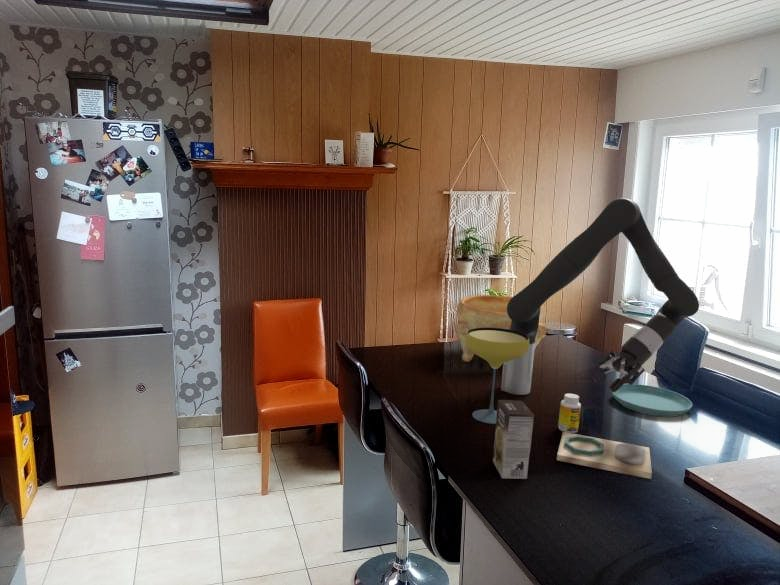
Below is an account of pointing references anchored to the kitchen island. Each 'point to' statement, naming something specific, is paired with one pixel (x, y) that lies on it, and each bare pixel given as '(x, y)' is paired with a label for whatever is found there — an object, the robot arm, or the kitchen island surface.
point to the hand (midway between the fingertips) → (602, 385)
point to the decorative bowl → (485, 318)
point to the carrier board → (605, 455)
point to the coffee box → (512, 439)
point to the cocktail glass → (495, 356)
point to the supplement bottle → (569, 413)
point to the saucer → (652, 400)
